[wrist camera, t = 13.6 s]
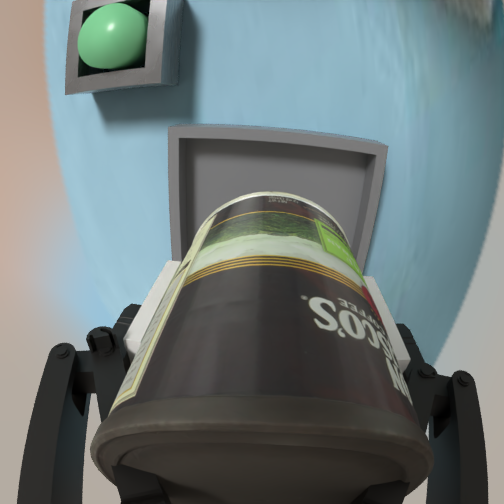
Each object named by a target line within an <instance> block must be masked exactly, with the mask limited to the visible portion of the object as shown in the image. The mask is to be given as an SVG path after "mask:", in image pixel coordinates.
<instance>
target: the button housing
mask: <svg viewBox="0 0 504 504" xmlns="http://www.w3.org/2000/svg"><path fill="white" fill-rule="evenodd" d="M112 3H122V4H126V5H128V6H130V7H132V8H133V9H135V10H137V11H139V12H141V13H144V12H149V20H148V31H147V44H146V59H145V68H136V69H128V70H120V71H113V72H106V73H103V71H104V68H95V67H92V66H89V65H88V64H86V63H85V62H84V61H83V60H82V58H81V57H80V55H79V52H78V36H79V33H80V30H81V28H82V26H83V24H84V23H85V21H86V20H87V18H88V17H89V16H90V15H91V14H92V13H93V12H95V11H96V10H97V9H99V8H101V7H103V6H105V5H108V4H112ZM183 6H184V0H76V1H73V2H72V8H71V16H70V24H69V33H68V44H67V57H66V78H65V95H71V94H86V93H96V92H103V91H111V90H119V89H129V88H140V87H152V86H169V85H178V74H179V56H180V41H181V28H182V17H183Z"/></svg>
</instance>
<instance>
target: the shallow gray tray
mask: <svg viewBox="0 0 504 504" xmlns="http://www.w3.org/2000/svg"><path fill="white" fill-rule="evenodd" d="M387 151H388V146H387V145H385V144H382V143H380V142H378V141H375V140H369V139H363V138H357V137H351V136H344V135H337V134H330V133H322V132H314V131H306V130H296V129H286V128H275V127H261V126H245V125H223V124H177V125H174V126H170V127H168V180H169V211H170V232H171V249H172V261H181V264H182V262H183V260H184V258H185V257H186V255H187V253H188V251H189V249H190V248H191V246H192V243H193V240H194V238H195V236H196V234H197V232H198V230H199V228H200V227H201V225H202V224H203V223H204V221H205V220H206V219H207V218H208V217H209V216H210V214H211V213H213V212H214V211H215V210H216V209H217V208H219V207H221V206H222V205H224V204H225V203H227V202H229V201H231V200H233V199H236V198H238V197H240V196H243V195H247V194H251V193H256V192H266V191H274V192H286V193H290V194H294V195H297V196H300V197H303V198H305V199H308V200H310V201H312V202H314V203H316V204H317V205H319V206H320V207H322V208H324V209H325V210H326V211H327V212H328V213H329V214H331V215H332V216H333V217H334V218H335V220H336V221H337V222H338V223H339V225H340V226H341V227H342V229H343V231H344V233H345V235H346V237H347V239H348V242H349V245H350V248H351V251H352V253H353V255H354V258H355V260H356V262H357V264H358V266H359V269H360V271H361V273H363V269H364V265H365V261H366V257H367V253H368V249H369V244H370V240H371V236H372V231H373V227H374V222H375V218H376V213H377V208H378V203H379V198H380V192H381V187H382V181H383V176H384V170H385V164H386V158H387Z"/></svg>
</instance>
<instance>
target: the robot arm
mask: <svg viewBox="0 0 504 504" xmlns="http://www.w3.org/2000/svg"><path fill="white" fill-rule="evenodd" d="M180 266H181V261H170V260H168V261H167V263H166V264H165V266H164V268H163V270H162V271H161V273H160V275H159V276H158V278H157V280H156V281H155V283H154V285H153V287H152V288H151V290H150V292H149V293H148V295H147V297H146V299H145V300H144V302H143V304H142V305H137V304H130V305H129V306H128V307H126V308H125V309H124V310H123V312H122V314H121V315H120V317H119V318H118V320H117V323H115V325H114V327H113V328H112V329H111V328H110V327H97V328H94V329H93V330H91V331H90V332H89V333H88V335H87V338H86V340H87V343H88V346H89V349H90V350H89V351H76V350H75V348H74V346H73V345H71V344H69V343H60V344H58V345H56V346H54V347H53V348H52V349H51V351H50V353H49V356H48V359H47V362H46V365H45V368H44V372H43V375H42V378H41V382H40V386H39V389H38V392H37V396H36V400H35V404H34V408H33V412H32V416H31V420H30V425H29V429H28V434H27V439H26V444H25V449H24V455H23V460H22V468H21V474H20V481H19V490H18V498H17V504H82V488H83V466H84V451H85V440H86V429H87V421H88V413H89V405H90V398H91V393H96V394H97V401H98V407H99V412H100V418H101V423H102V422H103V421H104V420H105V419H106V418H107V417H108V415H109V413H110V410H111V408H112V406H113V403H114V401H115V399H116V397H117V394H118V392H119V390H120V388H121V385H122V383H123V381H124V379H125V377H126V375H127V372H128V370H129V368H130V366H131V364H132V362H133V359H134V357H135V355H136V353H137V351H138V349H139V347H140V345H141V343H142V341H143V338H144V336H145V334H146V332H147V330H148V328H149V326H150V324H151V322H152V320H153V318H154V316H155V314H156V312H157V310H158V308H159V306H160V304H161V302H162V300H163V299H164V297H165V294H166V292H167V290H168V288H169V286H170V285H171V283H172V281H173V279H174V277H175V275H176V273H177V272H178V270H179V268H180ZM363 277H364V280H365V282H366V284H367V287H368V289H369V291H370V293H371V296H372V298H373V300H374V303H375V305H376V307H377V309H378V311H379V314H380V316H381V318H382V322H383V324H384V326H385V329H386V331H387V334H388V337H389V340H390V342H391V345H392V347H393V349H394V353H395V355H396V358H397V360H398V363H399V365H400V368H401V372H402V375H403V377H404V380H405V382H406V384H407V387H408V391H409V395H410V397H411V400H412V404H413V407H414V409H415V411H416V413H417V417H418V421H419V424H420V428H421V429H422V430H423V431H424V432H425V433H426V429H427V425H428V421H429V443H430V446H431V449H432V451H433V454H434V465H433V469H432V470H431V473H430V474H429V476H428V484H427V498H426V504H488V476H487V461H486V450H485V440H484V432H483V425H482V418H481V412H480V407H479V401H478V395H477V390H476V385H475V381H474V379H473V377H472V376H471V375H470V374H469V373H467V372H465V371H462V370H461V371H460V370H459V371H456V372H454V374H453V375H452V377H448V376H443V375H439V374H437V372H436V370H435V369H434V368H433V367H432V366H431V365H429V364H427V363H425V362H424V359H423V357H422V355H421V353H420V351H419V348H418V346H417V344H416V342H415V340H414V339H413V336H412V333H411V331H410V330H409V329H408V328H407V327H406V326H405V325H404V324H395V322H394V320H393V318H392V315H391V313H390V311H389V309H388V307H387V305H386V302H385V300H384V298H383V296H382V294H381V292H380V290H379V288H378V286H377V284H376V282H375V280H374V278H373V277H370V276H363ZM111 467H112V470H113V474H114V478H115V481H116V485H117V488H118V491H119V495H120V498H121V504H172V503H171V501H170V499H169V497H168V495H167V493H166V492H165V490H164V488H163V487H162V485H161V483H160V481H159V480H158V478H157V476H156V474H154V473H150V472H146V471H143V470H139V469H136V468H133V467H130V466H127V465H124V464H120V465H118V466H112V465H111ZM409 484H410V482H408V483H405V482H403V481H402V480H396V481H392V482H387V483H382V484H376V485H370V486H369V487H368V488H367V489H366V490H365V491H363V492H362V493H361V494H360V495H359V496H358V497H357V498H356V499H354V500H353V501H352V502H351V503H350V504H402V503H403V500H404V497H405V495H406V492H407V490H408V487H409Z"/></svg>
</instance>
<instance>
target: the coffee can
mask: <svg viewBox="0 0 504 504" xmlns="http://www.w3.org/2000/svg"><path fill="white" fill-rule="evenodd" d="M90 453H91V458H92V460H93V462H94V464H95V465H96V467H97V468H98V470H99V471H100V472H101V473H102V474H103V475H104V476H105V477H106V478H107V479H108V480H109V481H110V482H112V483H113V484H114V485H115V486H117V485H116V481H115V478H114V474H113V470H112V467H111V465H112V466H118V465H120V464H124V465H127V466H130V467H133V468H136V469H139V470H143V471H146V472H150V473H154V474H156V476H157V478H158V480H159V481H160V483H161V485H162V487H163V488H164V490H165V492H166V493H167V495H168V497H169V499H170V501H171V503H172V504H350V503H351V502H352V501H353V500H354V499H356V498H357V497H358V496H359V495H360V494H361V493H362V492H363V491H365V490H366V489H367V488H368V487H369V486H370V485H376V484H382V483H387V482H392V481H396V480H402V481H403V482H405V483H408V482H410V484H409V487H408V490H407V492H406V495H405V496H407V495H408V494H410V493H411V492H412V491H413V490H415V489H416V488H417V487H418V486H419V485H420V484H421V483H422V482H423V481H424V480H425V479H426V478H427V477H428V476H429V474H430V473H431V470H432V469H433V465H434V454H433V451H432V449H431V446H430V443H429V440H428V438H427V436H426V434H425V432H424V431H423V430H422V429H421V428H420V424H419V421H418V417H417V413H416V411H415V409H414V407H413V404H412V400H411V397H410V395H409V391H408V387H407V384H406V382H405V380H404V377H403V375H402V372H401V368H400V365H399V363H398V360H397V358H396V355H395V353H394V349H393V347H392V345H391V342H390V340H389V337H388V334H387V331H386V329H385V326H384V324H383V322H382V318H381V316H380V314H379V311H378V309H377V307H376V305H375V303H374V300H373V298H372V296H371V293H370V291H369V289H368V287H367V284H366V282H365V280H364V277H363V275H362V273H361V271H360V269H359V266H358V264H357V262H356V260H355V258H354V255H353V253H352V251H351V248H350V245H349V242H348V239H347V237H346V235H345V233H344V231H343V229H342V227H341V226H340V225H339V223H338V222H337V221H336V220H335V218H334V217H333V216H332V215H331V214H329V213H328V212H327V211H326V210H325V209H324V208H322V207H320V206H319V205H317V204H316V203H314V202H312V201H310V200H308V199H305V198H303V197H300V196H297V195H294V194H290V193H286V192H274V191H266V192H256V193H251V194H247V195H243V196H240V197H238V198H236V199H233V200H231V201H229V202H227V203H225V204H224V205H222V206H221V207H219V208H217V209H216V210H215V211H214V212H213V213H211V214H210V216H209V217H208V218H207V219H206V220H205V221H204V223H203V224H202V225H201V227H200V228H199V230H198V232H197V234H196V236H195V238H194V240H193V243H192V246H191V248H190V249H189V251H188V253H187V255H186V257H185V258H184V260H183V262H182V264H181V266H180V268H179V270H178V272H177V273H176V275H175V277H174V279H173V281H172V283H171V285H170V286H169V288H168V290H167V292H166V294H165V297H164V299H163V300H162V302H161V304H160V306H159V308H158V310H157V312H156V314H155V316H154V318H153V320H152V322H151V324H150V326H149V328H148V330H147V332H146V334H145V336H144V338H143V341H142V343H141V345H140V347H139V349H138V351H137V353H136V355H135V357H134V359H133V362H132V364H131V366H130V368H129V370H128V372H127V375H126V377H125V379H124V381H123V383H122V385H121V388H120V390H119V392H118V394H117V397H116V399H115V401H114V403H113V406H112V408H111V410H110V413H109V415H108V417H107V418H106V419H105V420H104V421H103V422H102V423H101V424H100V426H99V428H98V430H97V432H96V434H95V436H94V438H93V440H92V443H91V447H90Z"/></svg>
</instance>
